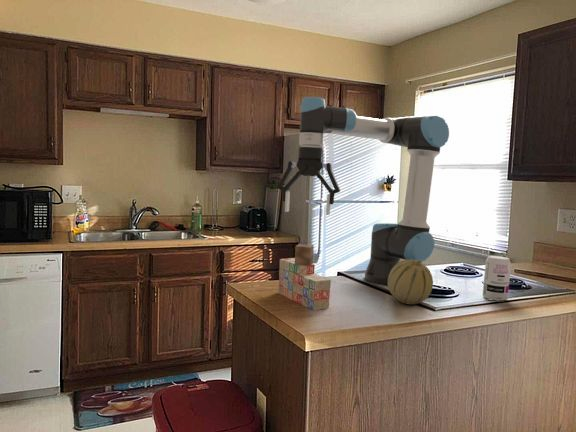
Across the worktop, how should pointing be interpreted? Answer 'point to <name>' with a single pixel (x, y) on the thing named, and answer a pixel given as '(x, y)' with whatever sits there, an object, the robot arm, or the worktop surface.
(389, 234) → the robot arm
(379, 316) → the worktop surface
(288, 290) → the stack of blocks
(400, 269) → the cantaloupe
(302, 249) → the walnut block
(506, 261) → the supplement can
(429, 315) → the worktop surface
